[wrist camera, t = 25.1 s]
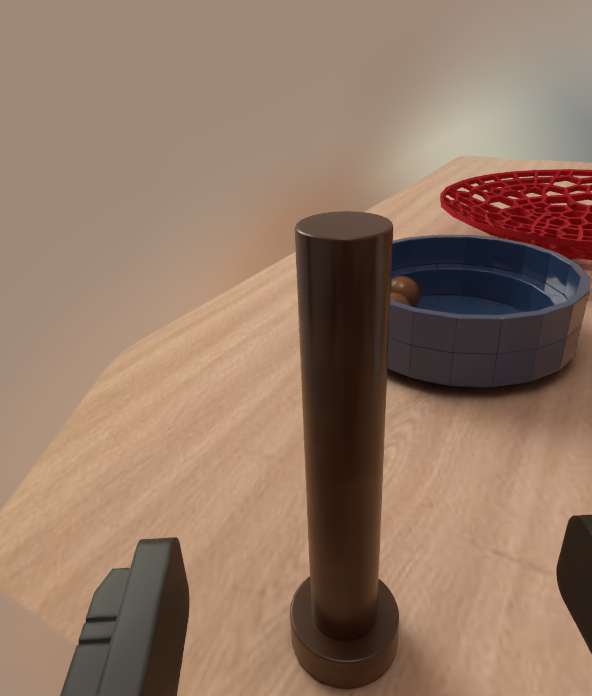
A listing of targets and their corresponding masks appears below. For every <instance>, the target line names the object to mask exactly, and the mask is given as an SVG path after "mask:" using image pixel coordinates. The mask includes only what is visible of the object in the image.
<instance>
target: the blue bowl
mask: <svg viewBox="0 0 592 696" xmlns="http://www.w3.org/2000/svg"><path fill="white" fill-rule="evenodd" d="M398 276H406V277H409V278H411V279H412V280H414V281H415V282H416V283H417V285H418V286H419V289H420V294H421V296H420V301H419V303H418V305H417V307H416V308H415V307H412V306H409V305H405V304H402V303H399V302H395V301H392V300H390V315H389V339H388V363H387V368H388V369H390V370H393V371H395V372H398V373H400V374H403V375H405V376H408V377H410V378H414V379H418V380H421V381H425V382H429V383H434V384H439V385H446V386H454V387H468V388H483V387H497V386H504V385H512V384H519V383H527V382H530V381H534V380H536V379H539V378H542V377H544V376H547V375H549V374H552V373H554V372H557V371H559V370H561V369H562V368H563V367H564V366H565V365H566V364H567V363H568V362H569V361H570V360H571V359H572V358H573V357H574V356H575V353H576V348H577V344H578V339H579V335H580V331H581V326H582V322H583V317H584V313H585V309H586V304H587V300H588V295H589V289H590V277H589V276H588V275H587V273H586V272H585V271H584V270H583V269H582V268H581V266H580V265H579V264H577V263H575V262H574V261H572V260H570V259H568V258H566V257H564V256H563V255H561V254H559V253H557V252H554V251H551V250H548V249H544V248H541V247H538V246H535V245H532V244H528V243H523V242H517V241H512V240H507V239H502V238H494V237H483V236H472V235H431V236H420V237H410V238H404V239H399V240H394V241H393V244H392V268H391V279H392V278H394V277H398Z"/></svg>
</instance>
